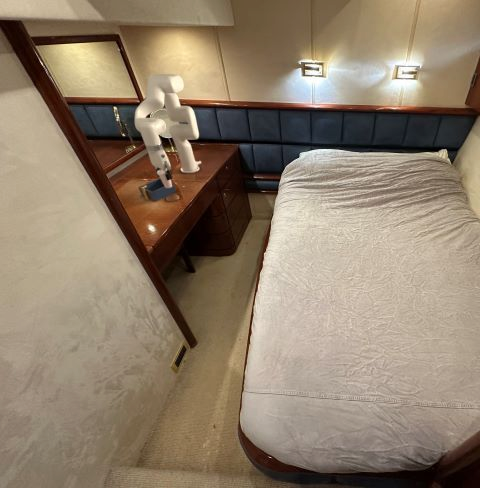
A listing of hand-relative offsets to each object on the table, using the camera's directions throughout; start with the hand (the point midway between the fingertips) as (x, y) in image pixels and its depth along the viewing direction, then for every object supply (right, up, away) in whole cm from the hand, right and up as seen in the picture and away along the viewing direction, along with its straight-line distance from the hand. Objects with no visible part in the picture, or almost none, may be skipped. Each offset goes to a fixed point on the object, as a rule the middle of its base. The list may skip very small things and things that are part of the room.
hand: (165, 177), depth 152 cm
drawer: (-11, -7, +12) cm, 18 cm away
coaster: (-1, -10, +9) cm, 14 cm away
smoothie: (0, -4, +4) cm, 6 cm away
